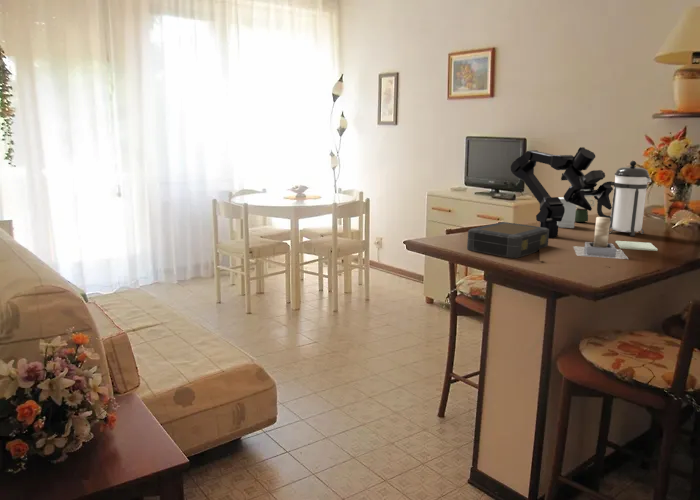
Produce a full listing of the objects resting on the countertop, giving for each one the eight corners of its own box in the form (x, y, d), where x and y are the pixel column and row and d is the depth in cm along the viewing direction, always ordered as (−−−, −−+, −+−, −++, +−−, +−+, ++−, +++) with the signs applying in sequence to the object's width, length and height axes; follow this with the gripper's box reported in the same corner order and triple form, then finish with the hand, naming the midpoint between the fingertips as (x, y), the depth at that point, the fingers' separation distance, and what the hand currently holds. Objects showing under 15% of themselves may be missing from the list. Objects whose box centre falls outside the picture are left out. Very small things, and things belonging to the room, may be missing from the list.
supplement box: (574, 228, 252) (577, 199, 250) (556, 227, 254) (559, 198, 251) (571, 225, 259) (574, 197, 257) (554, 224, 261) (556, 196, 258)
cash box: (499, 240, 224) (500, 221, 222) (549, 249, 210) (551, 228, 209) (463, 250, 206) (464, 228, 205) (515, 259, 193) (517, 237, 191)
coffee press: (635, 230, 249) (644, 159, 242) (650, 237, 233) (660, 162, 227) (594, 229, 251) (601, 159, 244) (606, 236, 235) (614, 161, 229)
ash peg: (593, 253, 198) (597, 218, 196) (592, 250, 202) (595, 216, 200) (607, 254, 197) (611, 219, 194) (605, 251, 201) (609, 217, 199)
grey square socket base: (576, 258, 195) (577, 248, 194) (572, 248, 210) (573, 239, 209) (628, 262, 190) (629, 251, 189) (620, 252, 205) (622, 242, 204)
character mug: (595, 222, 267) (598, 194, 264) (589, 224, 262) (592, 195, 259) (572, 219, 274) (574, 192, 272) (565, 221, 269) (568, 193, 267)
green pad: (620, 251, 207) (620, 246, 207) (615, 244, 218) (615, 240, 218) (657, 253, 204) (657, 249, 203) (650, 246, 215) (650, 242, 215)
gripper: (569, 163, 206) (593, 193, 197) (608, 162, 213) (633, 192, 204) (553, 186, 214) (576, 216, 205) (592, 185, 221) (615, 214, 212)
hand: (600, 209), depth 206 cm, fingers open, 9 cm apart
